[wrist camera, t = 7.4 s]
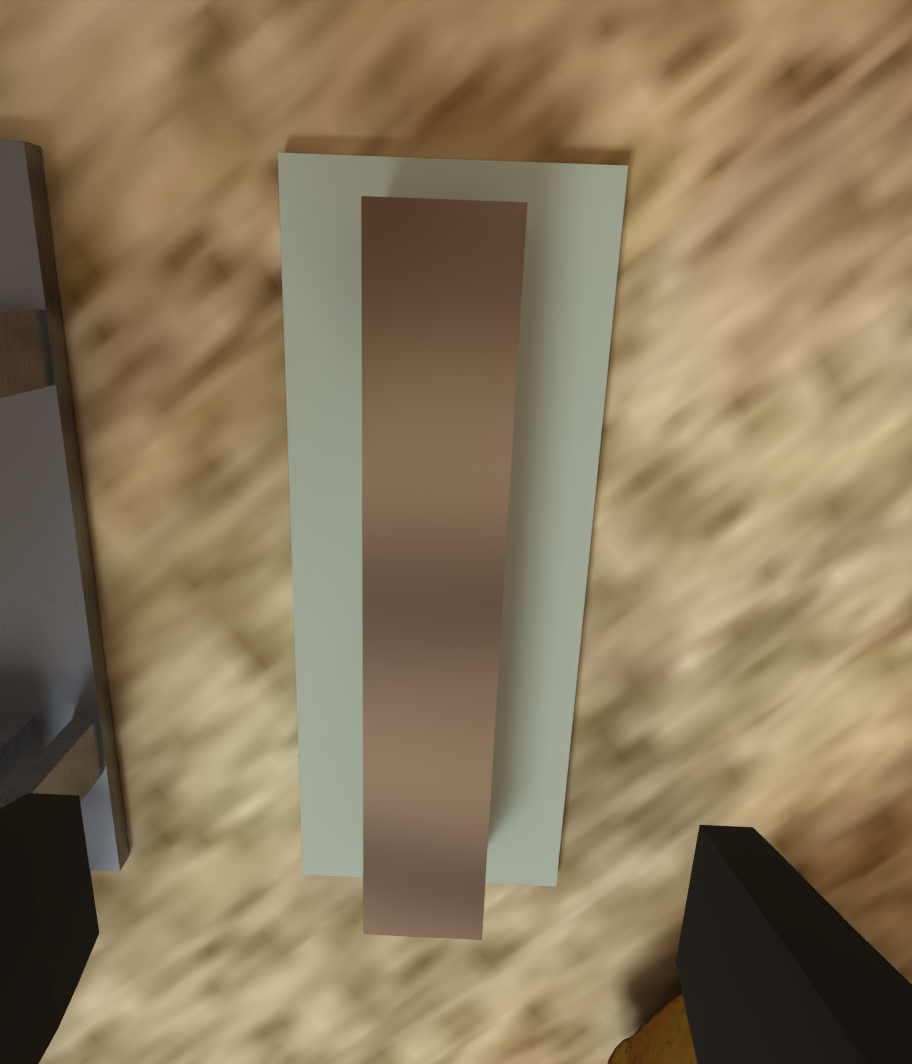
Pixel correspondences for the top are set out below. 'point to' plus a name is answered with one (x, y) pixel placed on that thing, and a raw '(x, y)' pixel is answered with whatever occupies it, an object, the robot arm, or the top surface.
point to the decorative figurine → (659, 1039)
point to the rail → (434, 547)
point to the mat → (534, 500)
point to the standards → (47, 541)
